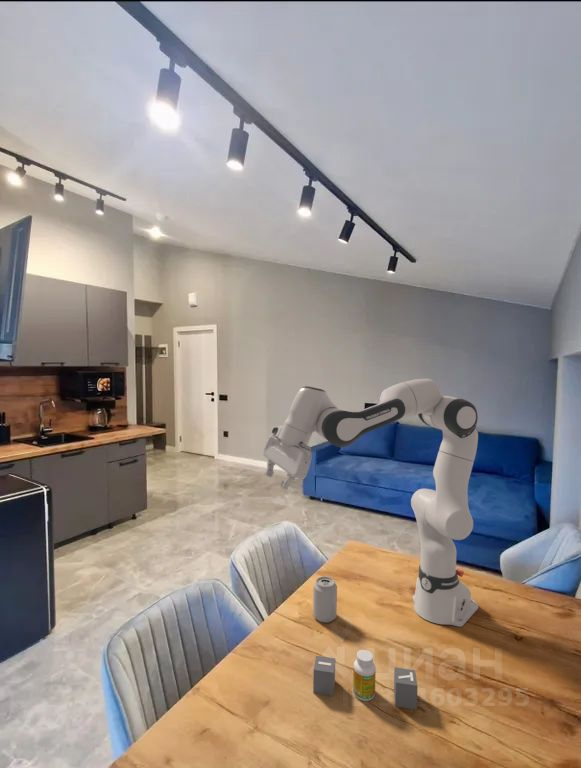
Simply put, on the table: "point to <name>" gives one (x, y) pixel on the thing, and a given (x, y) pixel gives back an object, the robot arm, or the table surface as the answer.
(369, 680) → the supplement bottle
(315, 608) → the can
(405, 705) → the letter t block
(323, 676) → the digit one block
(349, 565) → the table surface
